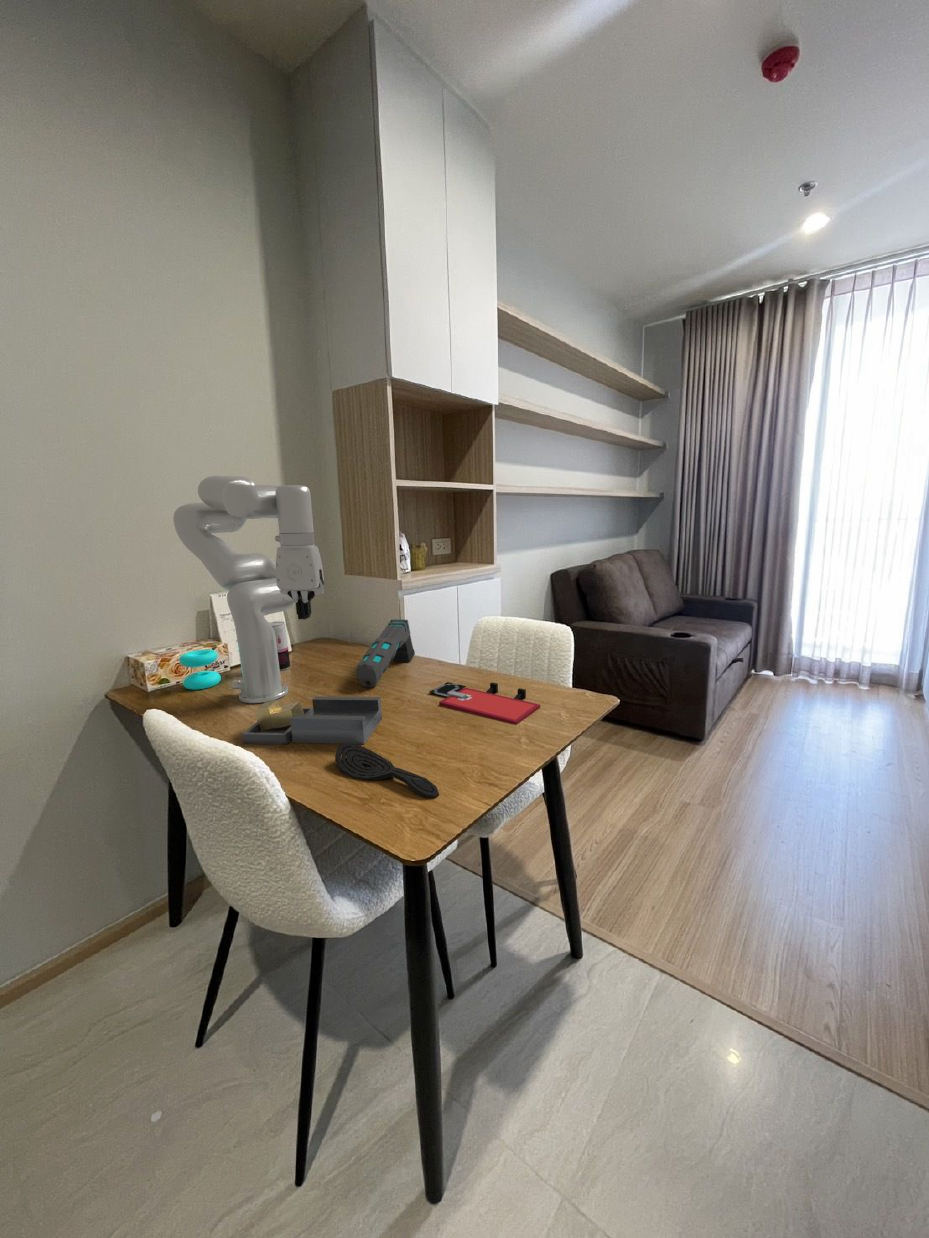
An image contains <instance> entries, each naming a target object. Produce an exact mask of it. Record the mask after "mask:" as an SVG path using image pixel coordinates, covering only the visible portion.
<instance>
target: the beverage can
mask: <svg viewBox="0 0 929 1238" xmlns="http://www.w3.org/2000/svg"><path fill="white" fill-rule="evenodd" d="M269 623H270V624H271V626H272V627H273V629H274V631H275V637H276V645H277V653H278V661H279V669H280V672H283V671H286V670H288V669H289V668H290V667H291V658H290V653H289V645H288V643H289V642H288V637H287V636H288V635H287V628H286V623H285V621H271V622H269Z"/></svg>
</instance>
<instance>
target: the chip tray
mask: <svg viewBox="0 0 929 1238" xmlns="http://www.w3.org/2000/svg"><path fill="white" fill-rule="evenodd" d="M302 708H303V711H304V714H305V715H308V714H309V713H310V712H311V711H312V710H313V707H302ZM241 738H242V744H244V745H245V744H247V745H248V744H249V745H250V744H251V745H252V744H253V745H288V744H289V743H290V742H291V741H293V738H292V730H291V725H289V726H285V727H281V728H272V729H268V730H264V731H261V729H260V726H259V724H258V721H256V722H255V723H253V725H252V726H250V727H249V728H248V729H247V730H244V731H243V732H242V733H241Z"/></svg>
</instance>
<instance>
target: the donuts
mask: <svg viewBox="0 0 929 1238" xmlns="http://www.w3.org/2000/svg"><path fill="white" fill-rule="evenodd" d="M218 656H219V655H218V653H217V651H216V650H214V649H198V650H193V651H189V652H185V653H184V654H182V655H180V657H179V658H178V659H179V664H180V665H182V666H183V667H185V668H202V667H205V666H209V665H211V664H213V663H214V662H216V661H217V659H218ZM221 680H222V677H221V674H220V673H218V672H216V671H214V670H203V671H202V670H201V671H197V672H196V671H195V672H194V673H191V674H189V675H187V676H186V677H185V678H184V680H183V683H182V684H183V687H184V688H185V689H188V690H193V691H194V690H204V689H209V688H212V687H215V686H216V685H218V684H219V683H220V682H221Z"/></svg>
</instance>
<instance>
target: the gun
mask: <svg viewBox="0 0 929 1238" xmlns="http://www.w3.org/2000/svg"><path fill="white" fill-rule="evenodd" d="M410 629H411V628H410V624H409V620H408V619H390V621H389V622H388V623H387V624H386V626H385V628H384V629H383V631H382V632H381V633H380V635H379V636H378V637H377V638H376V639H375V640H374V642H373V643H371V645H370V646H369V648H368V649H367V650H366V653H364V655H363V657H362V658H361V659H360V660H359V663H358V665H357V667H356V669H355V672H356V677H357V679H358V680H359V682H360V684H361V685H362V686H363V687H365V688H375V687H377V685H378V684H379V682H380V681H381V677H382V675H383V674H384V673H385V672H386V671H387V669H388V667H389V665H390V661H392V662H393V663H411V662H412V660H413V658H414V656H415V654H416V652H415V649H414V647H413V642H412V636H411V631H410Z"/></svg>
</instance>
